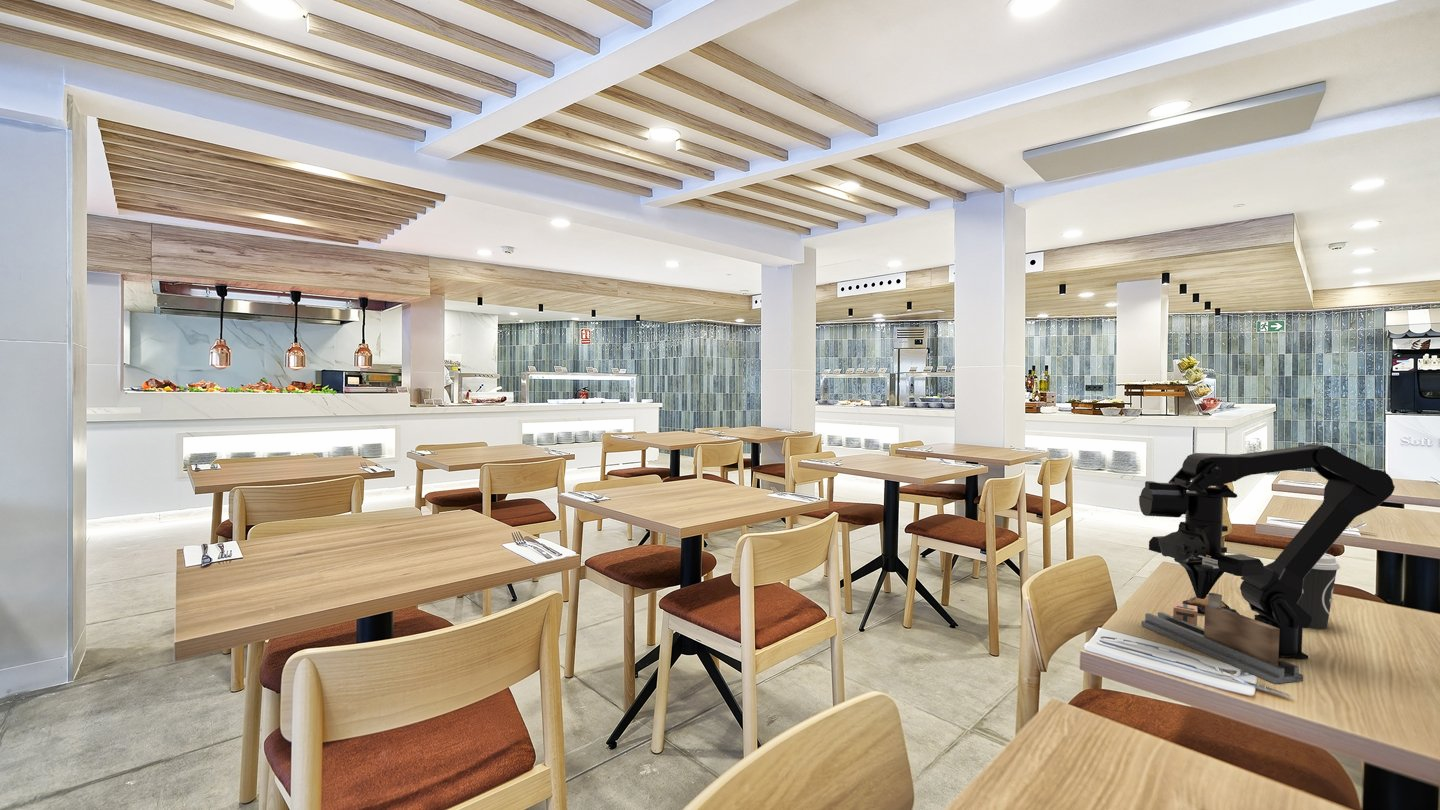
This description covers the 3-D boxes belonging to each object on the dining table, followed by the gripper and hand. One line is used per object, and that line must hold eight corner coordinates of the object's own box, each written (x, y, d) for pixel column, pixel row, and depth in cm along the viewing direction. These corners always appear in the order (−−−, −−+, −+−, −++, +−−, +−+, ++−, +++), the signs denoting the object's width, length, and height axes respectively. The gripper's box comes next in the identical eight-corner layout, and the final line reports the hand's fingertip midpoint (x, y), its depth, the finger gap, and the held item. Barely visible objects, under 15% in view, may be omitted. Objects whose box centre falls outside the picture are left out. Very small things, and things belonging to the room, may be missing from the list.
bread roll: (1192, 618, 137) (1193, 602, 137) (1173, 605, 145) (1174, 589, 145) (1248, 622, 135) (1249, 606, 135) (1226, 609, 143) (1227, 593, 143)
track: (1141, 625, 131) (1141, 613, 131) (1165, 623, 132) (1165, 611, 132) (1275, 683, 106) (1275, 669, 106) (1302, 680, 107) (1303, 666, 107)
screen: (1203, 641, 120) (1204, 592, 120) (1211, 640, 120) (1213, 592, 120) (1269, 669, 108) (1271, 615, 108) (1278, 668, 109) (1281, 614, 108)
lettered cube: (1173, 620, 134) (1173, 601, 134) (1196, 625, 132) (1197, 605, 132) (1172, 626, 131) (1173, 607, 131) (1196, 631, 129) (1197, 611, 129)
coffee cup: (1294, 612, 139) (1296, 546, 139) (1348, 628, 130) (1351, 557, 130) (1265, 617, 136) (1268, 549, 136) (1319, 634, 127) (1322, 561, 127)
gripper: (1127, 510, 128) (1125, 585, 129) (1218, 531, 110) (1215, 619, 111) (1172, 508, 131) (1169, 582, 131) (1267, 529, 113) (1264, 614, 113)
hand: (1200, 598), depth 121 cm, fingers closed
